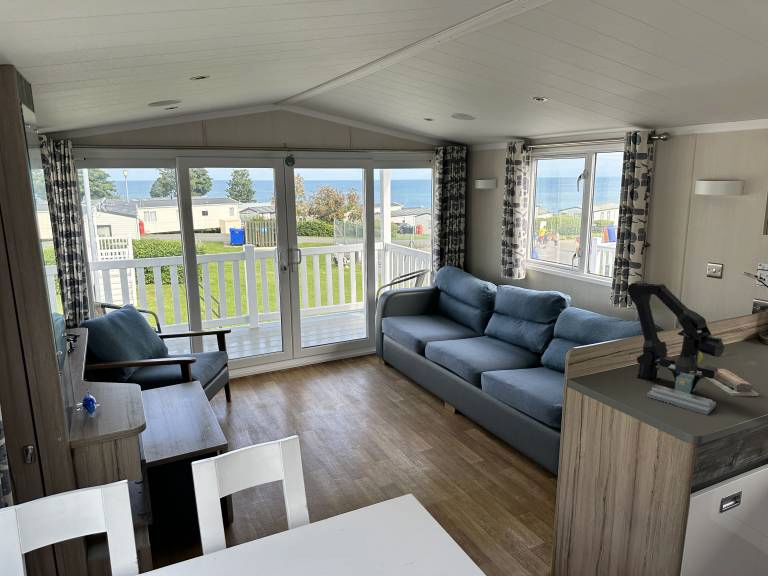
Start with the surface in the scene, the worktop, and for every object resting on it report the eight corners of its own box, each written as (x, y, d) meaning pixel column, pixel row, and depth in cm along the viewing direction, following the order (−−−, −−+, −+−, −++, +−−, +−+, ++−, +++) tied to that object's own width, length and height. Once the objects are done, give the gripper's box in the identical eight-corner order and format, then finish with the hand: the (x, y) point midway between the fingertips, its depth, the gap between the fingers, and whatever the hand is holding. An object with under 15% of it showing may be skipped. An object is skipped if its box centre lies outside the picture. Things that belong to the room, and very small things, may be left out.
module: (673, 392, 202) (675, 377, 201) (680, 386, 208) (682, 372, 206) (688, 396, 199) (690, 381, 198) (694, 390, 204) (696, 376, 203)
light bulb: (699, 369, 226) (703, 347, 223) (701, 375, 220) (704, 352, 218) (681, 367, 228) (684, 344, 226) (682, 372, 222) (686, 349, 220)
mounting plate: (646, 397, 198) (647, 393, 198) (656, 389, 205) (657, 385, 205) (707, 414, 184) (707, 410, 184) (715, 406, 191) (716, 402, 191)
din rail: (651, 391, 200) (652, 387, 199) (655, 388, 202) (655, 384, 202) (708, 407, 186) (709, 403, 186) (712, 404, 189) (712, 400, 189)
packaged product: (705, 367, 217) (729, 367, 217) (703, 378, 218) (728, 378, 218) (734, 384, 199) (760, 384, 199) (732, 396, 200) (758, 397, 200)
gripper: (656, 347, 201) (651, 386, 204) (712, 360, 188) (706, 402, 191) (666, 341, 208) (661, 379, 212) (721, 353, 195) (715, 393, 199)
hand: (684, 388), depth 203 cm, fingers closed on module, 5 cm apart
